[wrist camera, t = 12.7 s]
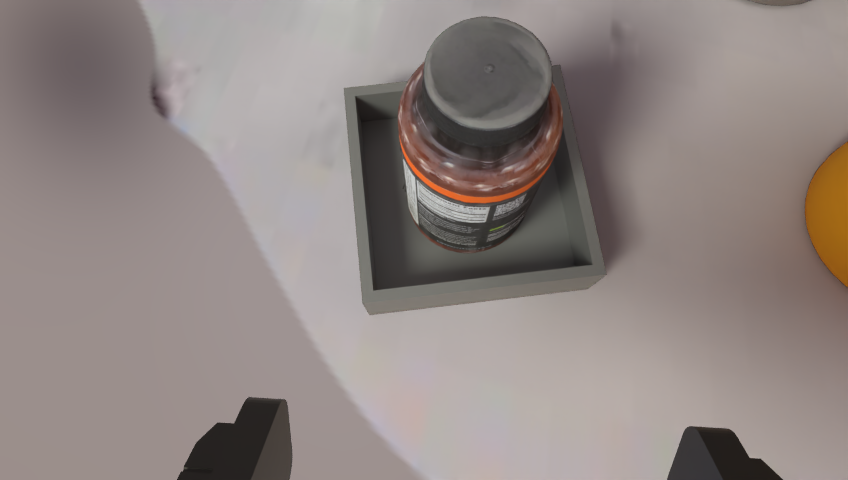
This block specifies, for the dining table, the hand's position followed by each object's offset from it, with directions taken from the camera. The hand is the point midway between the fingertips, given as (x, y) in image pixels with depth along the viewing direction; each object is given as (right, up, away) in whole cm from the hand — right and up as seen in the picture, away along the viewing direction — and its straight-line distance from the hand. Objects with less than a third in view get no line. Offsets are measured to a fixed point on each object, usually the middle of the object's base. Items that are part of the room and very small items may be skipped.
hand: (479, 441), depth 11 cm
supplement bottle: (+1, +6, +17) cm, 18 cm away
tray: (+1, +6, +17) cm, 18 cm away
